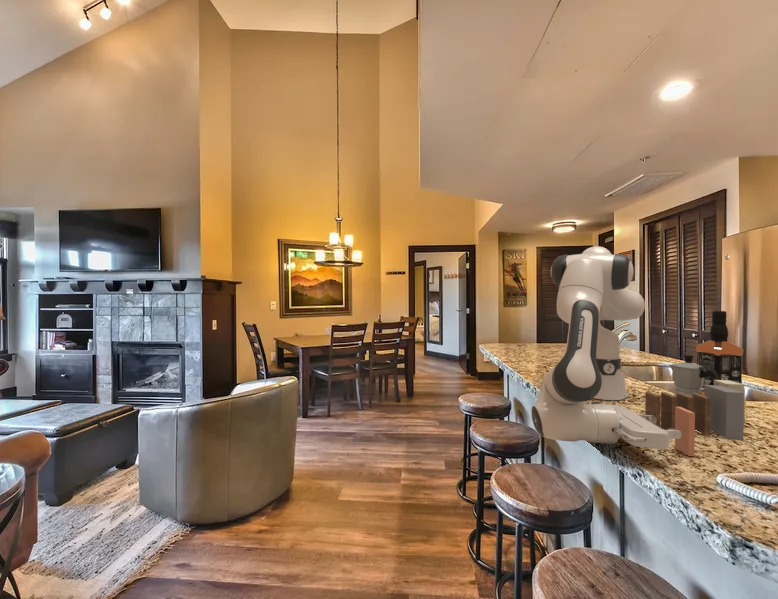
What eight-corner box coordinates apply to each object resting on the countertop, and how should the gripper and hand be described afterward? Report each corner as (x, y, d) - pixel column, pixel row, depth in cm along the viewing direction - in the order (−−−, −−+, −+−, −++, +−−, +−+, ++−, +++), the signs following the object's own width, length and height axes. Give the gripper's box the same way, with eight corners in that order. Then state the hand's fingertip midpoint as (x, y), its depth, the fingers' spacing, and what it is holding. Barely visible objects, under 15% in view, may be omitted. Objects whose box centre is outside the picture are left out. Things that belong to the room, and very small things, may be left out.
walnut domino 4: (704, 435, 99) (705, 397, 99) (692, 429, 104) (692, 393, 104) (709, 436, 99) (710, 398, 99) (696, 429, 104) (697, 393, 104)
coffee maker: (658, 406, 126) (659, 352, 126) (677, 404, 128) (677, 351, 128) (708, 420, 111) (708, 359, 111) (728, 418, 114) (728, 358, 114)
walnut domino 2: (671, 434, 100) (672, 396, 100) (660, 427, 105) (661, 391, 105) (676, 434, 100) (677, 396, 100) (665, 428, 105) (665, 392, 105)
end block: (704, 428, 105) (704, 385, 105) (720, 428, 104) (720, 385, 104) (726, 438, 97) (726, 392, 97) (743, 439, 96) (743, 392, 96)
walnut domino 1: (655, 433, 100) (655, 396, 100) (645, 427, 105) (645, 391, 105) (660, 433, 100) (660, 396, 100) (649, 427, 105) (650, 391, 105)
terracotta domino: (688, 456, 86) (689, 412, 86) (674, 448, 91) (675, 406, 91) (694, 457, 85) (694, 413, 85) (680, 448, 90) (680, 406, 90)
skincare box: (745, 428, 105) (746, 384, 105) (727, 427, 106) (727, 383, 106) (730, 421, 111) (730, 379, 111) (712, 419, 112) (713, 379, 112)
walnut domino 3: (688, 435, 99) (688, 397, 99) (676, 428, 104) (676, 392, 104) (693, 435, 99) (693, 397, 99) (681, 428, 104) (681, 392, 104)
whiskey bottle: (746, 409, 124) (747, 311, 123) (716, 408, 124) (717, 311, 124) (719, 400, 134) (720, 310, 134) (691, 400, 134) (692, 310, 134)
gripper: (625, 425, 80) (696, 428, 78) (587, 399, 100) (643, 401, 99) (625, 454, 80) (696, 458, 78) (587, 422, 100) (643, 425, 99)
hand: (666, 426), depth 89 cm, fingers open, 8 cm apart
